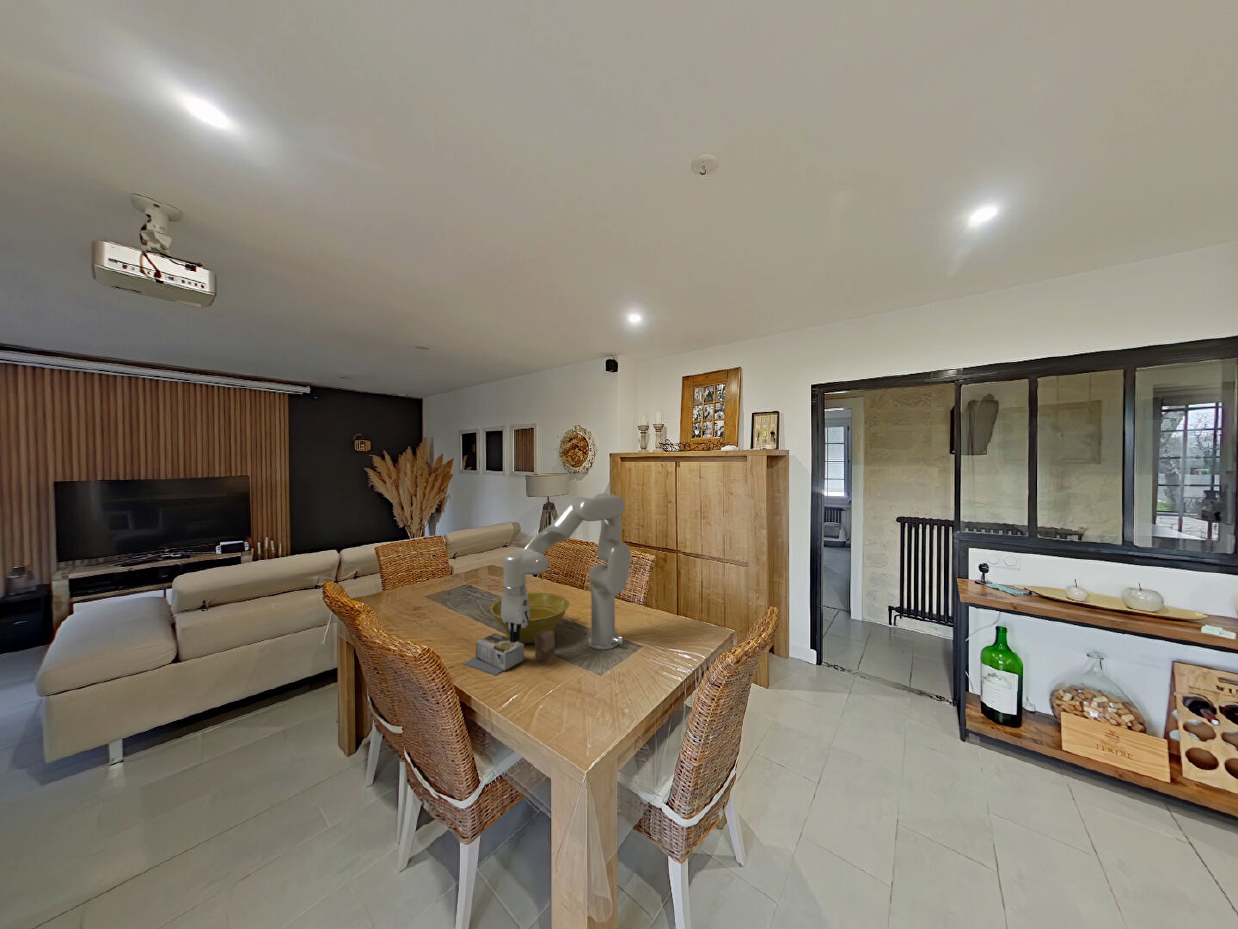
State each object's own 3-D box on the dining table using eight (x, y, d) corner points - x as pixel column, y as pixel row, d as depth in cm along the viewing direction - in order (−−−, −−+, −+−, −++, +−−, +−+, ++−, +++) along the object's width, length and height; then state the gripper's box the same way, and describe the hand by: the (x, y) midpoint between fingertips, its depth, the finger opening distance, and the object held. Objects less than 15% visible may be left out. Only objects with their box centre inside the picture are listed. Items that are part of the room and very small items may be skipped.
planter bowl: (576, 622, 183) (576, 593, 183) (558, 657, 151) (558, 621, 151) (508, 619, 187) (508, 590, 187) (476, 652, 155) (476, 618, 155)
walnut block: (554, 658, 150) (554, 632, 150) (546, 664, 146) (545, 637, 145) (544, 655, 152) (543, 629, 152) (535, 661, 148) (535, 634, 148)
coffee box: (524, 661, 148) (495, 649, 157) (524, 643, 148) (495, 632, 157) (504, 671, 140) (475, 658, 149) (504, 653, 140) (475, 641, 149)
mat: (520, 660, 149) (520, 659, 149) (495, 675, 138) (495, 674, 138) (488, 650, 156) (488, 649, 156) (463, 664, 146) (463, 663, 146)
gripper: (538, 589, 143) (538, 641, 143) (506, 583, 150) (506, 633, 150) (523, 596, 136) (524, 650, 136) (491, 589, 143) (491, 641, 143)
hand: (514, 641), depth 143 cm, fingers closed
